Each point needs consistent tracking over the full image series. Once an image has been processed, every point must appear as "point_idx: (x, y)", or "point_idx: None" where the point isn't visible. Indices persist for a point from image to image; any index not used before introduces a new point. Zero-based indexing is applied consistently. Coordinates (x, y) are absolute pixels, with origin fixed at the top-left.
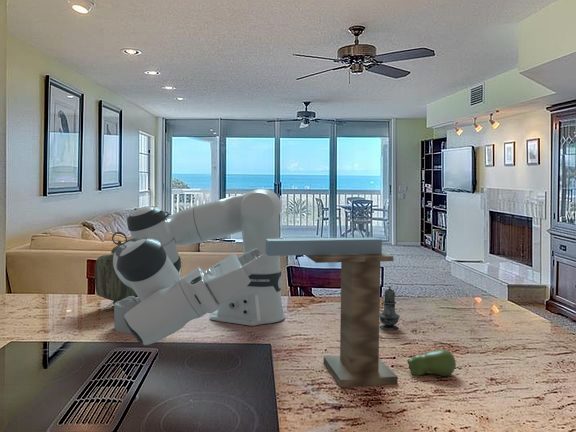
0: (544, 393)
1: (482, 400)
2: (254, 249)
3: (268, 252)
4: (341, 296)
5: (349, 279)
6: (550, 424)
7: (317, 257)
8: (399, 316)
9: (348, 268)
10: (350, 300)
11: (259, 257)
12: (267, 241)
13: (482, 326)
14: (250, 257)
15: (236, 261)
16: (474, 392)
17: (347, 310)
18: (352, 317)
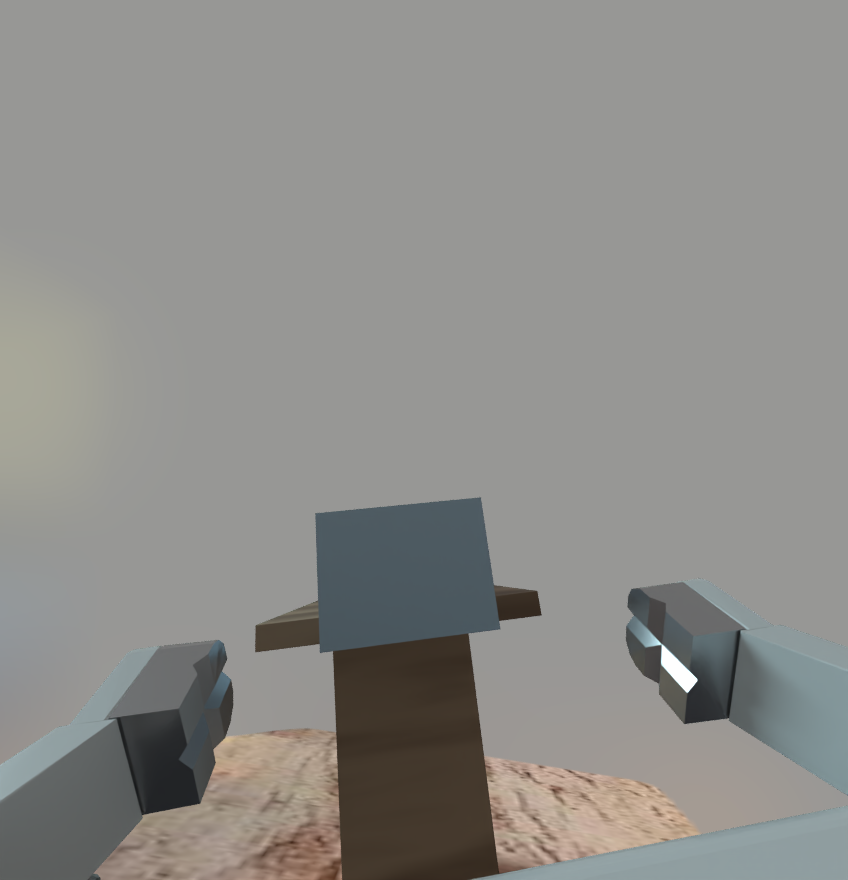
0: (536, 782)
1: (594, 849)
2: (157, 660)
3: (493, 597)
4: (348, 807)
5: (445, 688)
6: (658, 797)
7: (525, 591)
8: (95, 874)
9: (426, 649)
10: (470, 772)
11: (732, 601)
12: (441, 510)
13: (213, 787)
14: (95, 818)
15: (781, 875)
16: (556, 852)
17: (440, 836)
18: (493, 841)
